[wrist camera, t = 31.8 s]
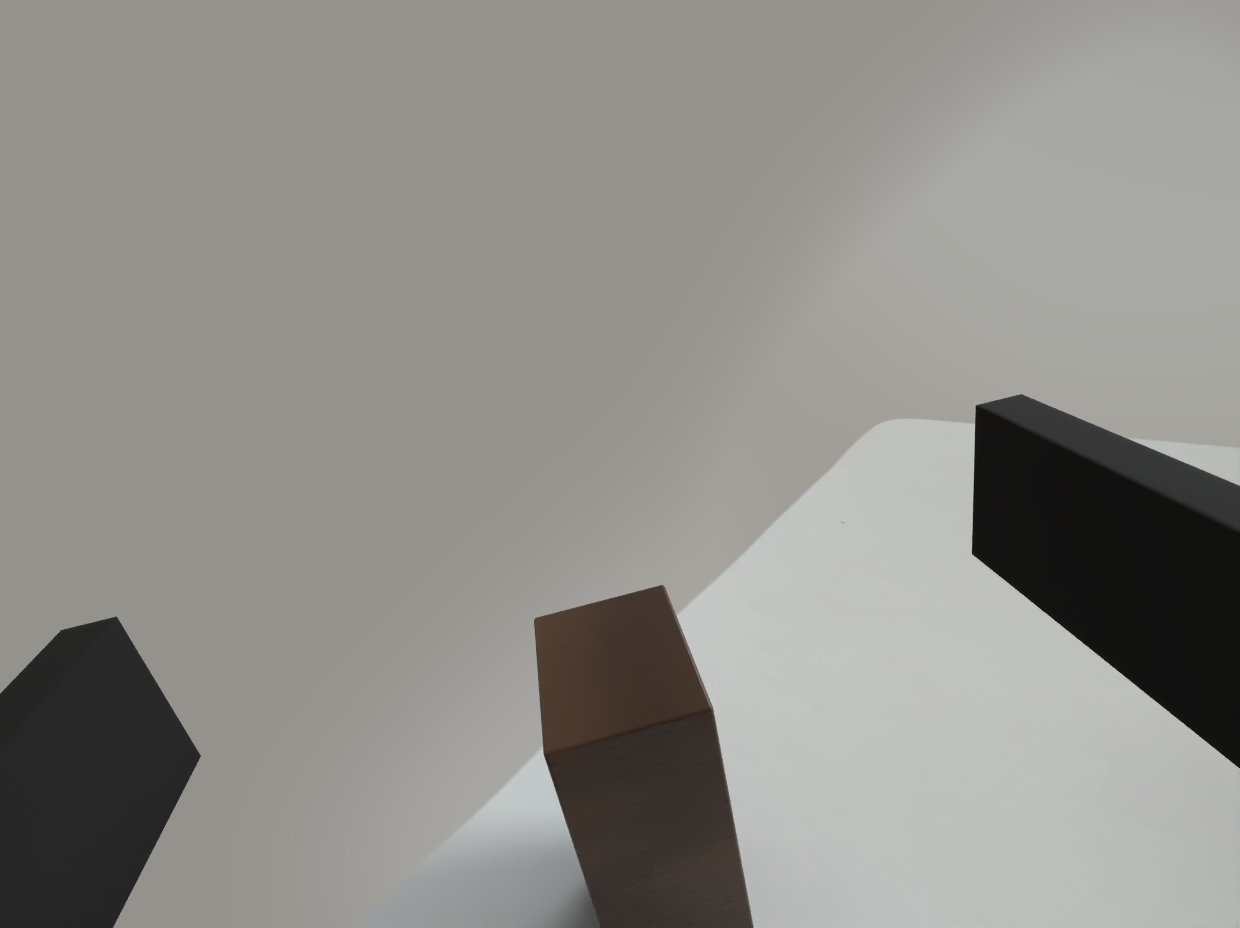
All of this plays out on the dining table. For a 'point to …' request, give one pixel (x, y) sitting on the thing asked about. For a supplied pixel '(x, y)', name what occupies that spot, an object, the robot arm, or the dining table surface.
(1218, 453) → the dining table surface
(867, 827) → the dining table surface
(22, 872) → the robot arm
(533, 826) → the dining table surface
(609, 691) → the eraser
